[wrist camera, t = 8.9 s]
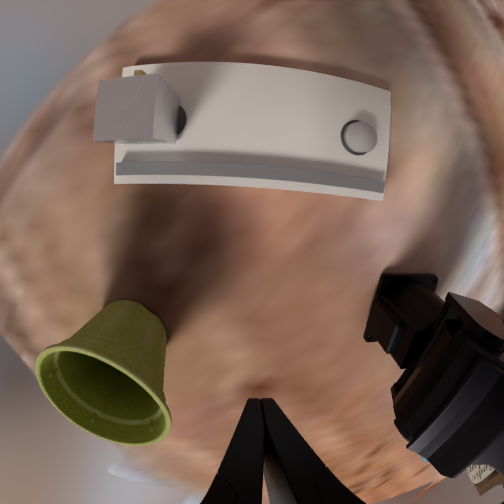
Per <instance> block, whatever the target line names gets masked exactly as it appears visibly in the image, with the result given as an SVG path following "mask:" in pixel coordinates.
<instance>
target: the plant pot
mask: <svg viewBox="0 0 504 504" xmlns="http://www.w3.org/2000/svg"><path fill="white" fill-rule="evenodd" d="M166 341H167V336H166V331H165V328H164V326H163V324H162V322H161V320H160V319H159V318H158V317H157V316H156V315H154V314H153V313H151V312H150V311H149V310H147V309H146V308H145V307H144V306H143V305H142V304H139V303H137V302H134V301H129V300H118V301H114V302H111V303H109V304H108V305H107V306H105V307H104V308H103V309H102V310H101V311H100V312H99V313H98V314H96V315H95V316H94V317H93V318H92V319H91V320H90V321H89V322H87V323H86V324H85V325H84V326H83V327H82V328H81V329H80V330H78V331H77V332H76V333H75V334H74V335H73V336H72V337H71V338H69V339H66V340H64V341H62V342H61V343H59V344H54V345H51V346H49V347H47V348H45V349H44V350H43V351H42V352H41V353H40V354H39V356H38V358H37V361H36V366H35V369H36V376H37V379H38V382H39V384H40V387H41V389H42V391H43V392H44V394H45V395H46V396H47V398H48V399H49V400H50V402H51V403H52V404H53V406H54V407H55V408H56V409H57V410H58V411H59V412H60V413H61V414H63V416H65V417H66V418H67V419H68V420H69V421H71V422H72V423H73V424H75V425H77V426H78V427H79V428H81V429H83V430H84V431H86V432H88V433H90V434H92V435H95V436H97V437H99V438H101V439H104V440H107V441H110V442H113V443H117V444H124V445H130V446H146V445H151V444H154V443H157V442H159V441H161V440H163V439H164V438H165V437H166V436H167V435H168V434H169V432H170V430H171V420H172V419H171V414H170V411H169V408H168V406H167V404H166V399H165V395H164V392H163V382H164V366H165V353H166Z"/></svg>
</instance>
